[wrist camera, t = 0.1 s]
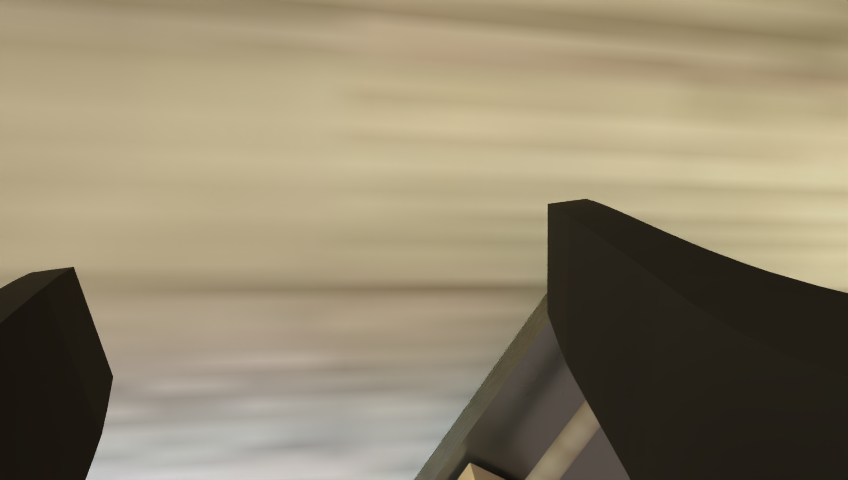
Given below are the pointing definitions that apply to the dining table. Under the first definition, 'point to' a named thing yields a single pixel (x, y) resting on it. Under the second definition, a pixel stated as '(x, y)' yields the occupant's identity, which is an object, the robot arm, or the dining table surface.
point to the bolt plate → (522, 416)
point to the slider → (553, 450)
